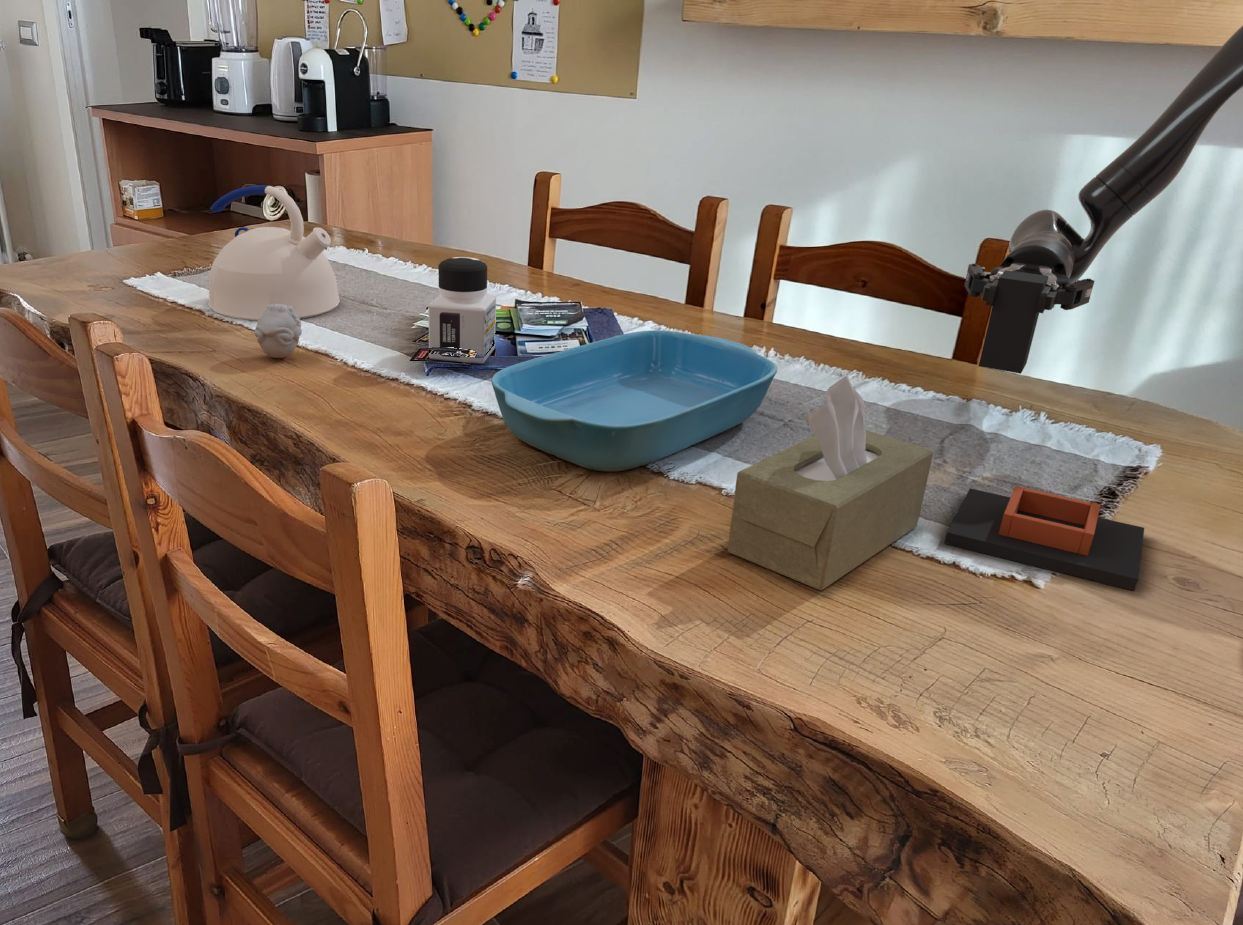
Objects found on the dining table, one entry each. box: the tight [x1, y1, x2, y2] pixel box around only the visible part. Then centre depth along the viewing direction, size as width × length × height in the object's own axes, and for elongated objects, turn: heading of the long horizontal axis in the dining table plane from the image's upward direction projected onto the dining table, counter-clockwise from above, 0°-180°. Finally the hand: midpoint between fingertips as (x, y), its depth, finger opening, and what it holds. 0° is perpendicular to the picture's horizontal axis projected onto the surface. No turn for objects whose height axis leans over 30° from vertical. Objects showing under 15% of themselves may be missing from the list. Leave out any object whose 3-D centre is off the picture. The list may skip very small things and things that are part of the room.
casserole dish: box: [490, 329, 778, 473], centre depth 120 cm, size 37×22×7 cm, turn 135°
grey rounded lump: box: [254, 304, 303, 359], centre depth 139 cm, size 6×7×7 cm
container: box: [427, 256, 497, 365], centre depth 141 cm, size 8×8×13 cm
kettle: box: [208, 184, 341, 322], centre depth 160 cm, size 20×21×18 cm
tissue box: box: [727, 374, 934, 591], centre depth 94 cm, size 19×10×16 cm, turn 136°
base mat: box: [944, 485, 1145, 592], centre depth 98 cm, size 16×12×3 cm
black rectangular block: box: [978, 270, 1048, 374], centre depth 115 cm, size 4×4×10 cm
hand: (1015, 299), depth 112 cm, fingers closed on black rectangular block, 4 cm apart
